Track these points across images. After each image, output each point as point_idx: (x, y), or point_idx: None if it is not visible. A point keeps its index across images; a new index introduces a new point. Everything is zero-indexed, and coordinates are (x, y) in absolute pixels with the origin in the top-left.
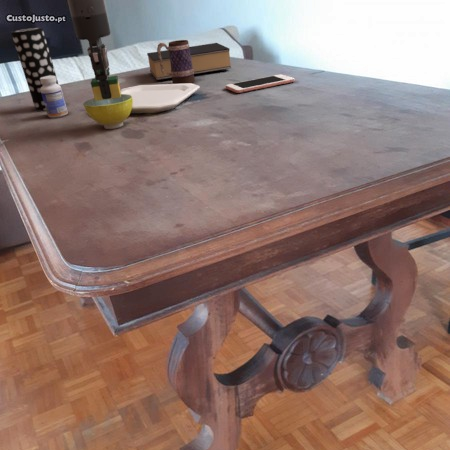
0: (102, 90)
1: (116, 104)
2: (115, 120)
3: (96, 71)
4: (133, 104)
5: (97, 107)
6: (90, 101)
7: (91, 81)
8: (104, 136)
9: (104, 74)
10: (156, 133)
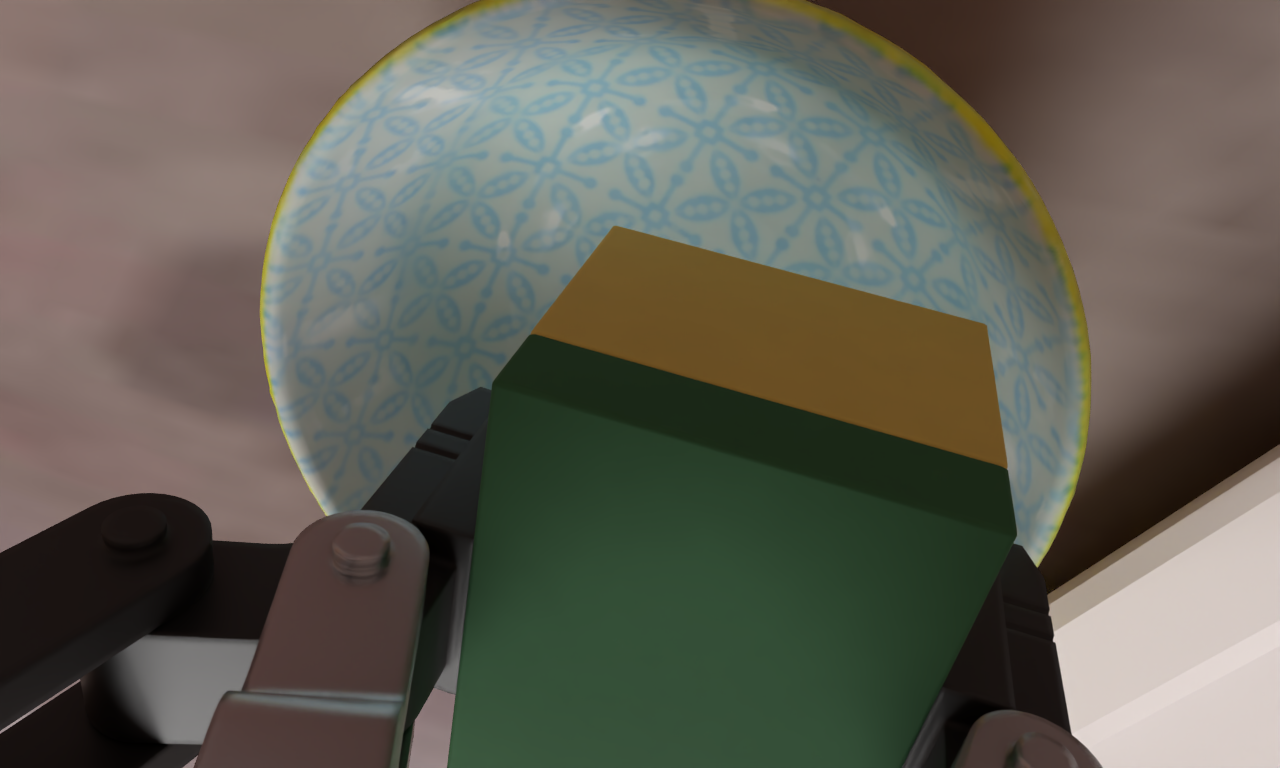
0: (415, 452)
1: (292, 440)
2: (460, 301)
3: (45, 677)
4: (1138, 691)
5: (296, 176)
6: (978, 160)
7: (636, 435)
8: (353, 66)
9: (42, 717)
10: (209, 501)
